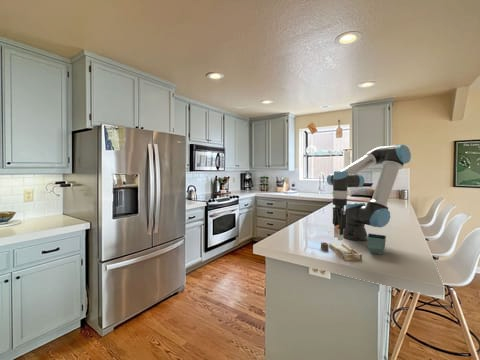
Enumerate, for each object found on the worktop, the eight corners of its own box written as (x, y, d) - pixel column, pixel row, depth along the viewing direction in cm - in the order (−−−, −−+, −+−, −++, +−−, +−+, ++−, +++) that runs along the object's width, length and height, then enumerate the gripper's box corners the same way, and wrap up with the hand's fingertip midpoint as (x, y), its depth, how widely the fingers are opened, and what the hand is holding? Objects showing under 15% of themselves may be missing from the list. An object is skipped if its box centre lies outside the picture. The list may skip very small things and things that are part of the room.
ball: (341, 232, 141) (341, 224, 141) (344, 235, 136) (345, 226, 136) (332, 232, 141) (332, 224, 141) (335, 235, 136) (336, 226, 136)
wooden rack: (353, 253, 131) (353, 248, 131) (361, 259, 122) (362, 254, 122) (336, 253, 131) (336, 248, 131) (343, 260, 122) (343, 254, 122)
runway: (342, 246, 143) (342, 242, 143) (352, 253, 131) (352, 249, 131) (329, 246, 143) (329, 242, 143) (337, 253, 131) (337, 249, 131)
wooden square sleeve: (326, 248, 140) (326, 242, 140) (328, 250, 136) (328, 244, 136) (320, 248, 140) (320, 242, 139) (322, 250, 136) (322, 244, 136)
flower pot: (385, 256, 127) (385, 239, 127) (366, 253, 132) (366, 236, 131) (385, 251, 135) (386, 235, 134) (367, 248, 139) (368, 233, 139)
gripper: (327, 196, 147) (326, 234, 148) (339, 199, 129) (338, 243, 130) (339, 196, 147) (338, 234, 148) (353, 200, 129) (352, 243, 130)
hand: (338, 238), depth 139 cm, fingers closed on ball, 5 cm apart
